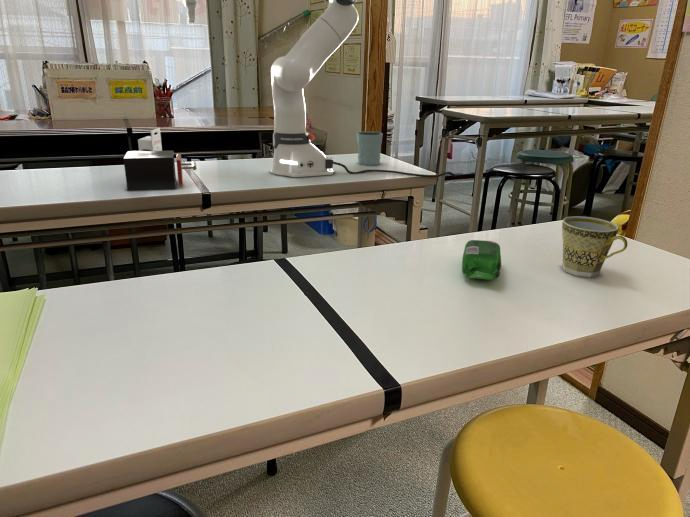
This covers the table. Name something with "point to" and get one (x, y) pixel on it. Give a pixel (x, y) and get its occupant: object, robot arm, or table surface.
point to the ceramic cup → (587, 244)
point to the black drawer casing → (150, 170)
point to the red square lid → (179, 168)
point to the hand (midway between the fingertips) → (191, 21)
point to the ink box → (151, 142)
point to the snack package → (481, 260)
